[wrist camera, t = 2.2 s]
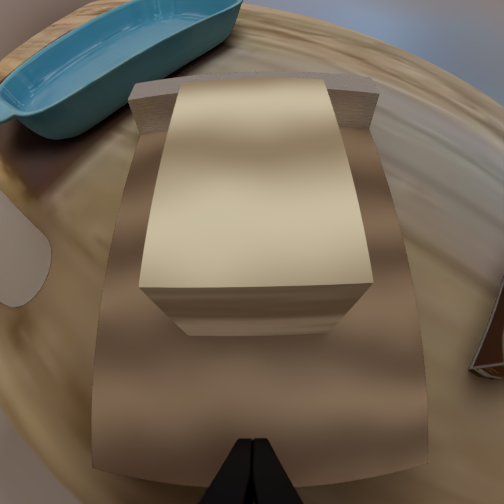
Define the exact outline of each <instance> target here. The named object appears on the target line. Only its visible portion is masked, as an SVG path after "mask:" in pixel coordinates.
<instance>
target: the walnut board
mask: <svg viewBox="0 0 504 504" xmlns="http://www.w3.org/2000/svg"><path fill="white" fill-rule="evenodd" d="M339 130H340V133H341V137H342V140H343V144H344V147H345V151H346V155H347V158H348V162H349V166H350V170H351V174H352V178H353V182H354V186H355V190H356V195H357V199H358V203H359V208H360V212H361V217H362V222H363V227H364V231H365V237H366V242H367V247H368V252H369V258H370V264H371V270H372V276H373V282H374V283H373V284H372V285H371V286H370V288H369V289H368V290H367V291H366V292H365V293H364V294H363V296H362V297H361V298H360V299H359V300H358V301H357V302H356V304H355V305H354V306H353V307H352V308H351V309H350V310H349V311H348V312H347V314H346V315H345V316H344V317H343V318H342V319H341V320H340V321H339V322H338V323H337V324H336V325H335V327H334V328H333V329H332V330H331V331H330V332H329V333H320V334H300V335H271V336H188V335H187V334H186V333H185V332H184V331H183V330H182V329H181V328H180V327H178V326H177V325H176V324H175V323H174V322H173V321H172V320H171V319H170V318H169V317H168V316H167V315H166V314H165V313H164V312H163V311H162V310H161V309H160V308H159V307H158V306H157V305H156V304H155V303H154V302H153V301H152V300H151V299H150V298H149V297H148V296H147V295H146V294H145V293H144V292H143V291H142V290H141V289H140V288H139V279H140V272H141V265H142V258H143V251H144V245H145V239H146V233H147V227H148V221H149V216H150V210H151V205H152V200H153V195H154V190H155V185H156V180H157V176H158V171H159V167H160V162H161V158H162V154H163V149H164V145H165V141H166V137H167V133H168V131H167V132H158V133H149V134H141V135H140V137H139V141H138V144H137V147H136V150H135V153H134V157H133V160H132V163H131V167H130V170H129V174H128V177H127V181H126V184H125V188H124V192H123V196H122V200H121V204H120V208H119V212H118V216H117V220H116V225H115V229H114V234H113V238H112V243H111V248H110V253H109V258H108V263H107V269H106V275H105V280H104V286H103V293H102V299H101V306H100V314H99V321H98V330H97V339H96V349H95V360H94V373H93V390H92V468H94V469H98V470H102V471H106V472H110V473H114V474H119V475H123V476H128V477H133V478H138V479H144V480H150V481H156V482H162V483H170V484H177V485H186V486H197V487H209V485H210V484H211V482H212V481H213V479H214V477H215V476H216V474H217V472H218V471H219V469H220V468H221V466H222V464H223V463H224V461H225V459H226V457H227V456H228V454H229V452H230V451H231V449H232V447H233V446H234V444H235V442H236V440H237V439H239V438H251V439H252V440H253V439H254V438H267V439H268V440H269V442H270V444H271V445H272V447H273V449H274V451H275V453H276V455H277V457H278V459H279V460H280V462H281V464H282V466H283V468H284V470H285V471H286V473H287V475H288V477H289V479H290V480H291V482H292V484H293V486H294V488H295V487H307V486H318V485H327V484H335V483H342V482H348V481H355V480H360V479H366V478H371V477H376V476H381V475H386V474H390V473H394V472H398V471H403V470H406V469H410V468H414V467H418V466H421V465H425V464H428V408H427V390H426V377H425V365H424V356H423V347H422V339H421V331H420V324H419V318H418V311H417V305H416V299H415V294H414V288H413V283H412V278H411V273H410V268H409V263H408V259H407V254H406V250H405V246H404V241H403V237H402V233H401V229H400V225H399V222H398V218H397V214H396V210H395V207H394V203H393V200H392V196H391V193H390V190H389V186H388V183H387V180H386V177H385V174H384V171H383V168H382V165H381V162H380V159H379V156H378V153H377V150H376V147H375V144H374V142H373V139H372V136H371V133H370V131H369V129H362V128H347V127H339Z"/></svg>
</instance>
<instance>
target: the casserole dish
mask: <svg viewBox="0 0 504 504" xmlns="http://www.w3.org/2000/svg"><path fill="white" fill-rule="evenodd" d="M242 2H243V0H132V1H129V2H127V3H125V4H122V5H120V6H118V7H116V8H114V9H112V10H109V11H107V12H105V13H103V14H101V15H99V16H97V17H96V18H94V19H92V20H90V21H88V22H86V23H84V24H83V25H81V26H79V27H77V28H76V29H74V30H72V31H70V32H69V33H67V34H65V35H64V36H62V37H61V38H59V39H57V40H56V41H54V42H53V43H51V44H50V45H48V46H47V47H45V48H44V49H42V50H41V51H39V52H38V53H37V54H35V55H34V56H32V57H31V58H30V59H28V60H27V61H26V62H24V63H23V64H22V65H21V66H19V67H18V68H17V69H16V70H14V71H13V72H12V73H11V74H10V75H9V76H8V77H7V78H6V79H5V80H4V81H3V82H2V83H1V85H0V124H3V123H6V122H8V121H10V120H12V119H14V118H16V119H17V120H19V121H20V122H21V123H22V124H24V125H25V126H26V127H28V128H29V129H31V130H32V131H33V132H35V133H37V134H39V135H40V136H43V137H45V138H48V139H55V140H58V139H65V138H72V137H76V136H78V135H80V134H82V133H84V132H86V131H87V130H89V129H91V128H92V127H94V126H95V125H97V124H98V123H100V122H101V121H102V120H104V119H105V118H107V117H108V116H110V115H111V114H112V113H114V112H115V111H117V110H118V109H119V108H121V107H122V106H124V105H125V104H127V103H128V98H129V96H130V94H131V92H132V90H133V87H134V85H135V84H136V83H142V82H148V81H155V80H161V79H163V78H164V77H166V76H168V75H170V74H171V73H173V72H175V71H176V70H178V69H179V68H181V67H183V66H184V65H186V64H188V63H189V62H191V61H192V60H194V59H196V58H197V57H199V56H201V55H202V54H204V53H206V52H207V51H209V50H211V49H212V48H214V47H215V46H217V45H218V44H220V43H221V42H222V41H224V40H225V39H226V38H227V37H228V36H229V34H230V33H231V31H232V29H233V27H234V25H235V22H236V19H237V16H238V13H239V10H240V7H241V4H242Z"/></svg>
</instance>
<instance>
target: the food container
mask: <svg viewBox="0 0 504 504" xmlns="http://www.w3.org/2000/svg"><path fill="white" fill-rule="evenodd" d="M468 370H469V371H471V372H472V373H474V374H475V375H477V376H479V377H483V378H488V379H501V378H504V277H503V280H502V283H501V287H500V290H499V293H498V296H497V299H496V302H495V305H494V308H493V311H492V314H491V316H490V319H489V322H488V324H487V327H486V329H485V332H484V334H483V337H482V339H481V342H480V344H479V347H478V349H477V351H476V353H475V356H474V358H473V360H472V362H471V364H470V367H469V369H468Z"/></svg>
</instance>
